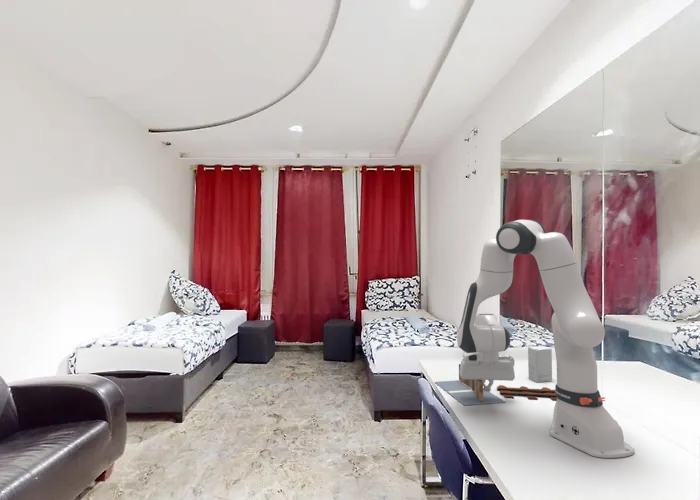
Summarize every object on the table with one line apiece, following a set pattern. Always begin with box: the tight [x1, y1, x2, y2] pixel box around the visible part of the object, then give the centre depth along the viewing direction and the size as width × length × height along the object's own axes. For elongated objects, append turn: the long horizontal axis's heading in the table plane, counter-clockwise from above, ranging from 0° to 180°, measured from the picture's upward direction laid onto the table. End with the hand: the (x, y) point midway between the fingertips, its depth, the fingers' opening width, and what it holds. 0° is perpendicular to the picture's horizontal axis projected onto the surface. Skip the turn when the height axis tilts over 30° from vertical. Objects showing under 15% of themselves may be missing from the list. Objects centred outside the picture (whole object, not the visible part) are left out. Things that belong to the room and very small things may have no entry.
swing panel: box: [474, 380, 484, 401], centre depth 153 cm, size 12×1×7 cm, turn 172°
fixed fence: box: [458, 363, 474, 391], centre depth 167 cm, size 15×2×8 cm, turn 10°
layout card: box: [434, 379, 507, 407], centre depth 160 cm, size 28×17×1 cm, turn 10°
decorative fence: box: [496, 384, 557, 402], centre depth 159 cm, size 23×2×15 cm
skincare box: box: [527, 345, 553, 383], centre depth 175 cm, size 8×6×15 cm
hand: (487, 391), depth 151 cm, fingers closed
